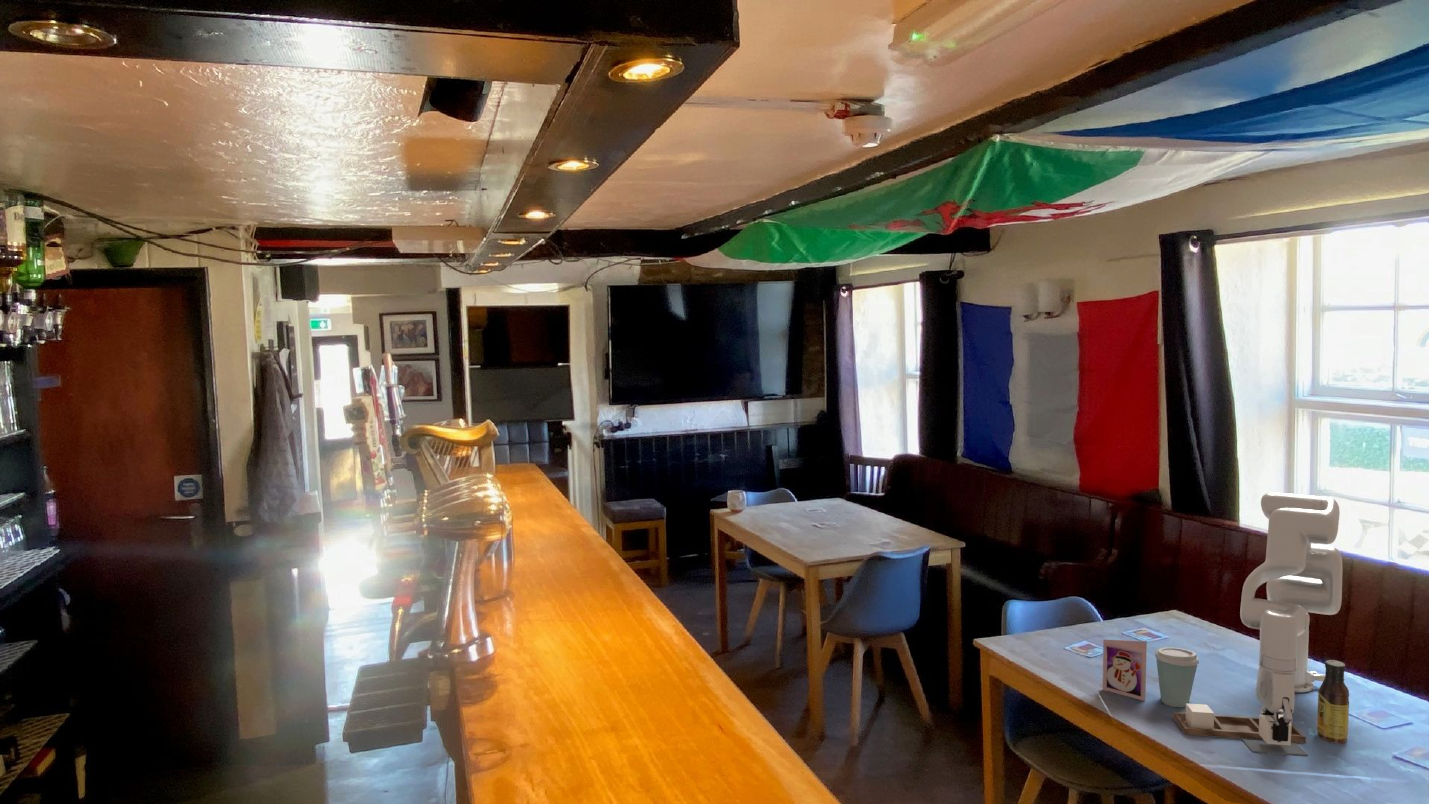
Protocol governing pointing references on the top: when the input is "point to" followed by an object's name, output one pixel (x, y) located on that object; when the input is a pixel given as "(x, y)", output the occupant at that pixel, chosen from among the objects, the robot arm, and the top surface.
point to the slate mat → (1274, 748)
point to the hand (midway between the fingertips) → (1274, 734)
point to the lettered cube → (1271, 730)
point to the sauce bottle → (1333, 704)
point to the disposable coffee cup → (1176, 675)
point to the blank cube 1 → (1199, 716)
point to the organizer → (1232, 728)
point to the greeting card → (1125, 667)
